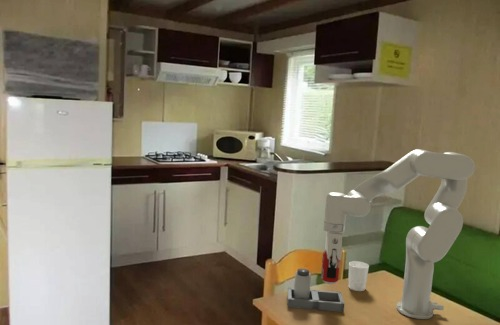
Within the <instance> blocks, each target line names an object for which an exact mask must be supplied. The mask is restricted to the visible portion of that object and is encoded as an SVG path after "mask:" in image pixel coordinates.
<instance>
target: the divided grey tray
mask: <svg viewBox="0 0 500 325" xmlns="http://www.w3.org/2000/svg"><path fill="white" fill-rule="evenodd" d="M287 308H293V309H306V310H317V311H326V312H336V313H337V312H340V313H344V311H345V302H344V298H343V296H342V293H341V291H333V290H330V291H329V290H320V289H310V296H309V300H308V299H296V298H294V287H288V288H287Z"/></svg>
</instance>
